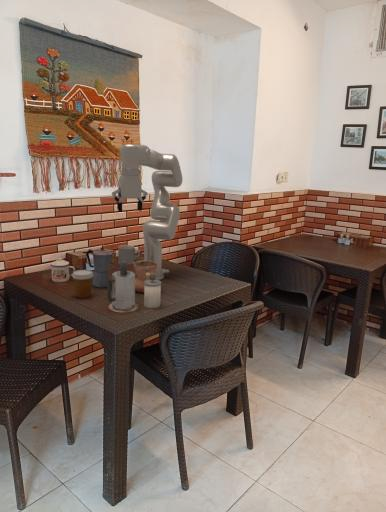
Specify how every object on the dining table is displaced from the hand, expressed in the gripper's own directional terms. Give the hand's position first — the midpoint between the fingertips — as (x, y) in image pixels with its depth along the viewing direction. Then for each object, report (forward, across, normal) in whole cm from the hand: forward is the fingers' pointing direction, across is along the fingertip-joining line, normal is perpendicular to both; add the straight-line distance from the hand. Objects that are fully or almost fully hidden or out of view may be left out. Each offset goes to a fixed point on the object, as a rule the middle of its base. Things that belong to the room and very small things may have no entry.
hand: (129, 210), depth 182 cm
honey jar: (+40, +21, -5) cm, 46 cm away
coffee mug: (+40, -23, -51) cm, 69 cm away
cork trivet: (+40, +10, +16) cm, 44 cm away
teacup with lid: (+40, +22, -34) cm, 57 cm away
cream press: (+40, -2, +20) cm, 45 cm away
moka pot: (+40, +8, -18) cm, 45 cm away
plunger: (+37, +10, +16) cm, 41 cm away
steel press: (+40, +11, +16) cm, 44 cm away
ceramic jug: (+41, -9, -1) cm, 42 cm away
